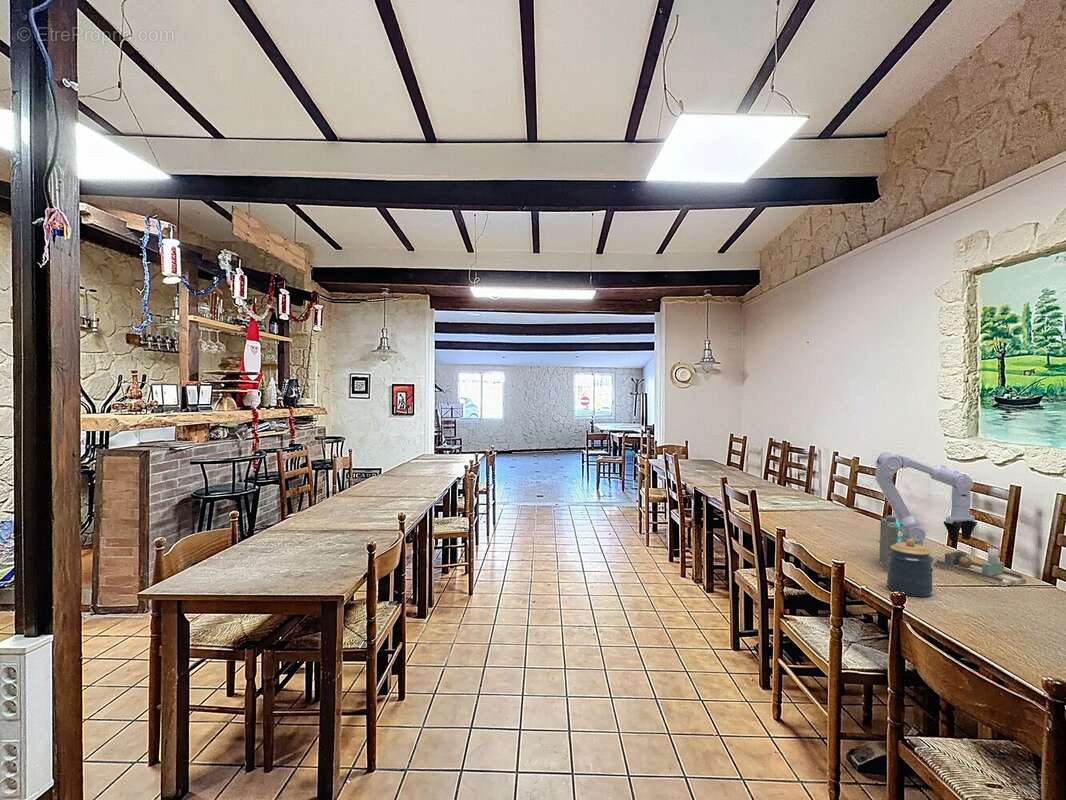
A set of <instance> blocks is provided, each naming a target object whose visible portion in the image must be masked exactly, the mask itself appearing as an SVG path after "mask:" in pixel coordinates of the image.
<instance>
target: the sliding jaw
mask: <svg viewBox="0 0 1066 800" xmlns="http://www.w3.org/2000/svg"><path fill="white" fill-rule="evenodd" d="M987 551H988V552H987V562H984V563H983V562H982V563H981V564H982V573H985V574H988V575H998V574H1004V570H1005V562H1003V561H1000V560H999V559H1000V557H999V556H1000V550H999V549H998V548H993V547H991V548H990V547H989V548H988V549H987Z"/></svg>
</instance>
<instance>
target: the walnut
mask: <svg viewBox="0 0 1066 800" xmlns="http://www.w3.org/2000/svg"><path fill="white" fill-rule="evenodd" d="M972 562H973V561H972V559H971V557H969V556H967V555H966V556H962V557H960V558H959V563H960V564H961V565H962V566H964V567H969V566H971V565H972Z"/></svg>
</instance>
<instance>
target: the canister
mask: <svg viewBox="0 0 1066 800" xmlns="http://www.w3.org/2000/svg"><path fill="white" fill-rule="evenodd" d="M891 549H892V550H891V551H889V552H888V553H887V554H888V555H889V561H888V562H887V564H888V573H887V578H886V585H887V588H888V589H889V590H890V589H893V590H894V591H899V592H904V593H905V594H906V595H905V596H909V597H916V596H921V597H920V598H926V596H927V597H930V596H932V592H933V590H934V589H933V588H934V587H933V571H934V568H933V566H932V563H934V558H933V557H932V556H931V555H930V554H931V550H929V549H927V547H925V546H924V545H923V546H921V545H918V544H915V541H914V540H913V539H907V540H906V543H903V542H900V543H896V544H894V545H891ZM894 591H893V592H894ZM910 595H911V596H910Z"/></svg>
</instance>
